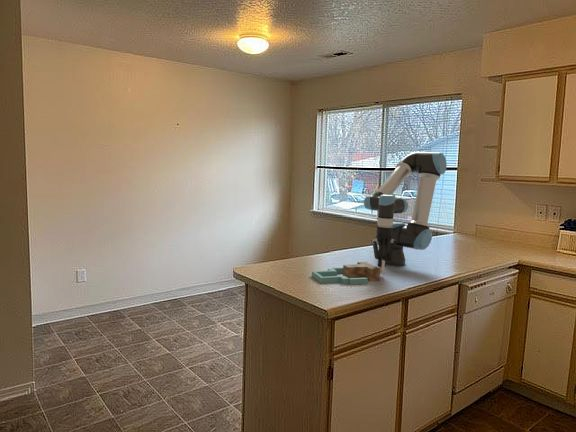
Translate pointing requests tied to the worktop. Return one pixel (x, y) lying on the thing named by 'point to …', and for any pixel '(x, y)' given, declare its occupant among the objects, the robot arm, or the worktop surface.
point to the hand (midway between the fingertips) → (381, 273)
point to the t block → (362, 271)
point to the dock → (336, 277)
